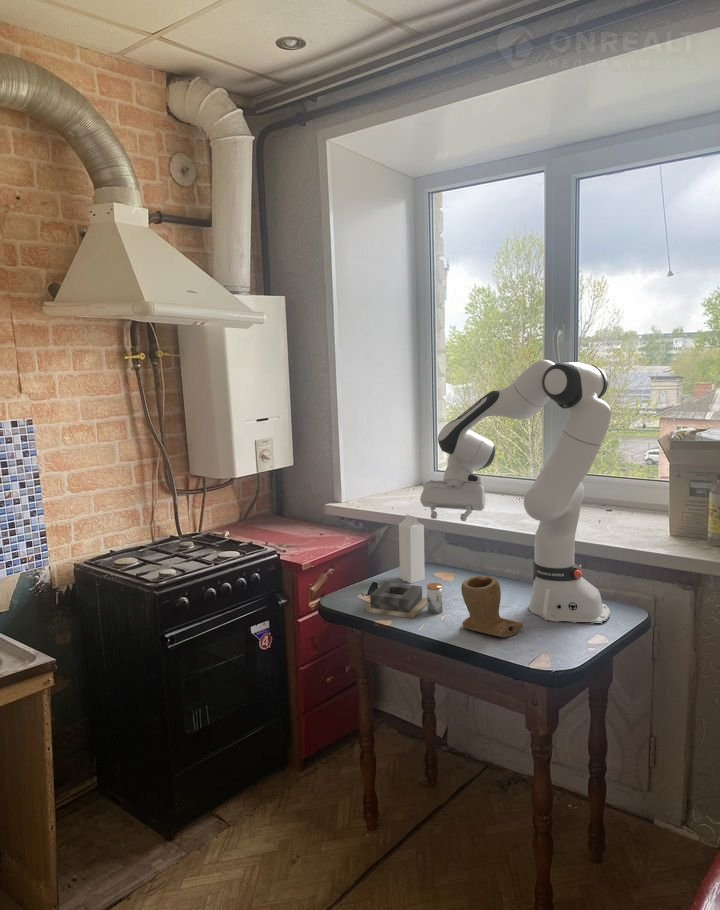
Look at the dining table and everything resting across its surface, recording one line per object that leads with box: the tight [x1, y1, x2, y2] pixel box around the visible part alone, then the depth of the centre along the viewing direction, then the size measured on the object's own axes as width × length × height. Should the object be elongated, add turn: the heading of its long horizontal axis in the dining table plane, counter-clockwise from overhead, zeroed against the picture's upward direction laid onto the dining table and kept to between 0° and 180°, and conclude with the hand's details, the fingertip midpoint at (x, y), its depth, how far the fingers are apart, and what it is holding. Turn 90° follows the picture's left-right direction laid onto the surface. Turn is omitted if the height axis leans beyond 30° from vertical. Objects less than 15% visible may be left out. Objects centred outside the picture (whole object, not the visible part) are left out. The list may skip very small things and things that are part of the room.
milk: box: [398, 513, 426, 584], centre depth 227 cm, size 6×6×22 cm
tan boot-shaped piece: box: [461, 575, 524, 638], centre depth 183 cm, size 15×12×15 cm
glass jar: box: [426, 582, 444, 615], centre depth 199 cm, size 4×4×8 cm
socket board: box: [362, 581, 427, 619], centre depth 204 cm, size 16×14×5 cm
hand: (448, 518), depth 209 cm, fingers open, 8 cm apart
